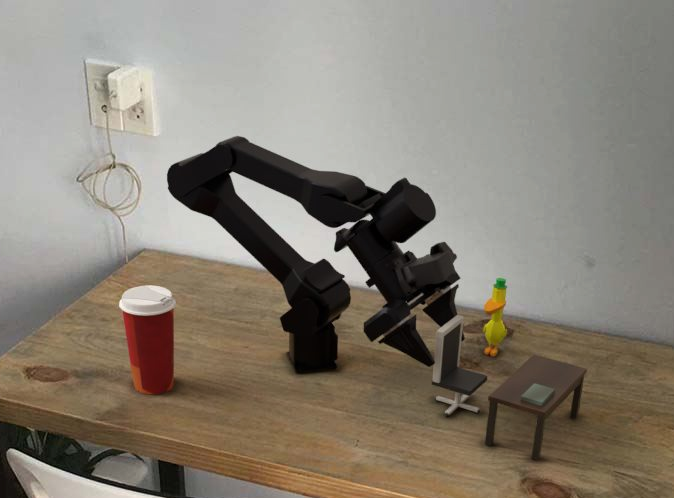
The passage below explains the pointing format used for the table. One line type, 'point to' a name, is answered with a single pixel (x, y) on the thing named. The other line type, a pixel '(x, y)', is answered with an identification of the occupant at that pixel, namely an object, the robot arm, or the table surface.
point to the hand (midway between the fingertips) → (447, 353)
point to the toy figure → (495, 316)
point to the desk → (537, 393)
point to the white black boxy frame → (454, 367)
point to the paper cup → (150, 337)
